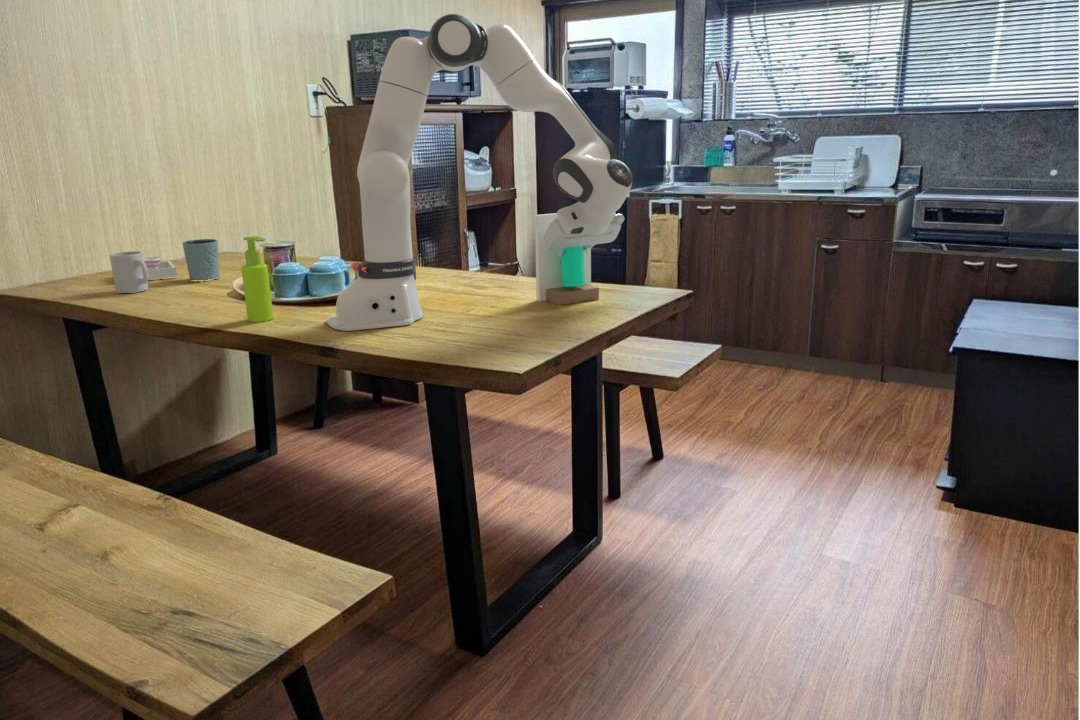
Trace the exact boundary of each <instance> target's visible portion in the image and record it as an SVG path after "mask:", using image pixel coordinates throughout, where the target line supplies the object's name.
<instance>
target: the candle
mask: <svg viewBox="0 0 1080 720" xmlns="http://www.w3.org/2000/svg"><path fill="white" fill-rule="evenodd" d="M564 251H565V253H564V254H563V256H561V269H562V283H563V286H566V287H567V286H581V285H585V271H584V256H583V246H576V247H567V248H565V249H564Z"/></svg>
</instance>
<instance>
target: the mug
mask: <svg viewBox="0 0 1080 720" xmlns="http://www.w3.org/2000/svg"><path fill="white" fill-rule="evenodd" d="M143 257H144V255H143V252H142V251H122V252H121V251H120V252H115V253H111V254H109V259H110V265H111V271H112V275H113V282H114V289H115V292H116V294H118V293H134V294H136V293H135V292H140V291H144V290H147V289H148V290H149V284H148V282H149V281H148V269H147V266H146V264H145V262H144V259H143ZM148 290H147V291H148Z"/></svg>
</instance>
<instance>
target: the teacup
mask: <svg viewBox="0 0 1080 720" xmlns="http://www.w3.org/2000/svg"><path fill="white" fill-rule="evenodd" d="M143 259H144V262H145V264H146V266H147V269H148V270H149V269H159V264H160V263H159V262H162V256H160V255H159V256H157V255H156V256H154V255H153V256H143Z"/></svg>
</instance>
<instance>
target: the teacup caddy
mask: <svg viewBox="0 0 1080 720" xmlns="http://www.w3.org/2000/svg"><path fill="white" fill-rule="evenodd" d="M159 263H160V264H159V269H149V270H148V279H156V278H165V277H175V276H177V277H178V275H177V268H176V266H175V265H174V264H173V262H171V260H166V261H160V262H159Z"/></svg>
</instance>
